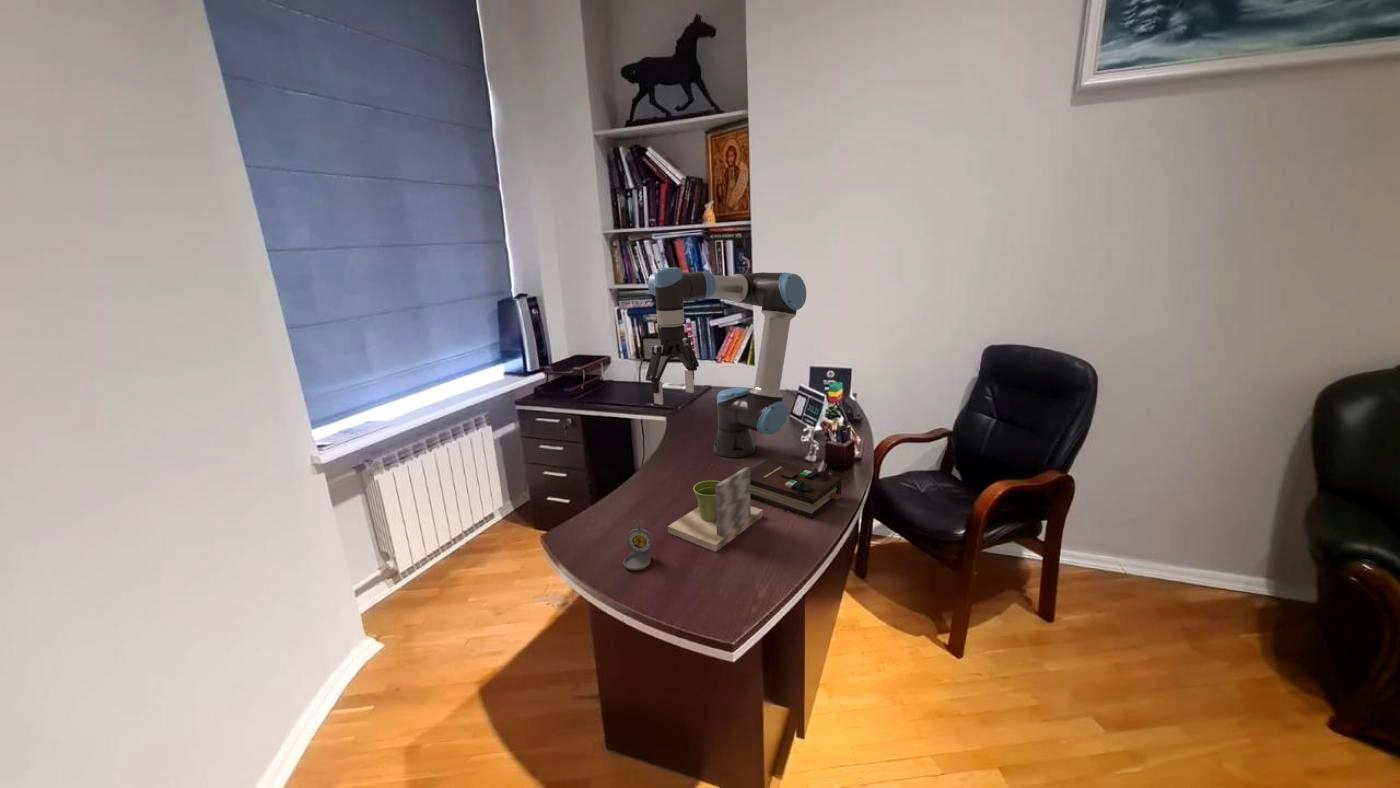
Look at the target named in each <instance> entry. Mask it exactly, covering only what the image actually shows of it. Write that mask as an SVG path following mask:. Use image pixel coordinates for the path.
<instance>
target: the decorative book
mask: <svg viewBox="0 0 1400 788" xmlns="http://www.w3.org/2000/svg"><path fill="white" fill-rule="evenodd" d="M834 473H836V471H834V470H829V471H826V470H821V471H819V470H815V469H811V468H807V467H803V466H800V465H797V464H794V463H789V462H786V461H783V460H782V461H781V460H779V459H775V458H770V457H769V458H768V459H766V460H764V461H762V462H760V463H759V464H757V465H755V466H754V467H752V468H750V498H751V500H753V501H755V500H756V501H755V502H758V501H759V503H761V502H762V503H761V504H764V503H765V505H767V504H768V506H770V505H771V507H773V506H774V507H773V508H777V509H779V508H780V510H782V509H783V510H782V511H785V510H786V511H785V512H788V511H789V513H791V512H792V513H791V514H794V515H797V514H798V515H797V516H800V515H801V516H800V517H803V516H804V517H803V518H805V519H809V518H810V519H809V520H812V519H813V520H814V519H816V518H817V517H818V516H819V515H821V514H822V513H823V512H825V509H826V508H827V507H828V508H830V505H831V504H832V505H833V504H834V503H836V502H837V501H838V500H839V499H841V498H842V497H844V495H843V494H842V477H841V476H837V475H833V474H834ZM836 500H837V501H836ZM835 501H836V502H835ZM828 508H827V509H828ZM827 509H826V510H827ZM822 511H823V512H822ZM821 512H822V513H821ZM820 513H821V514H820ZM816 516H817V517H816Z"/></svg>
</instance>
